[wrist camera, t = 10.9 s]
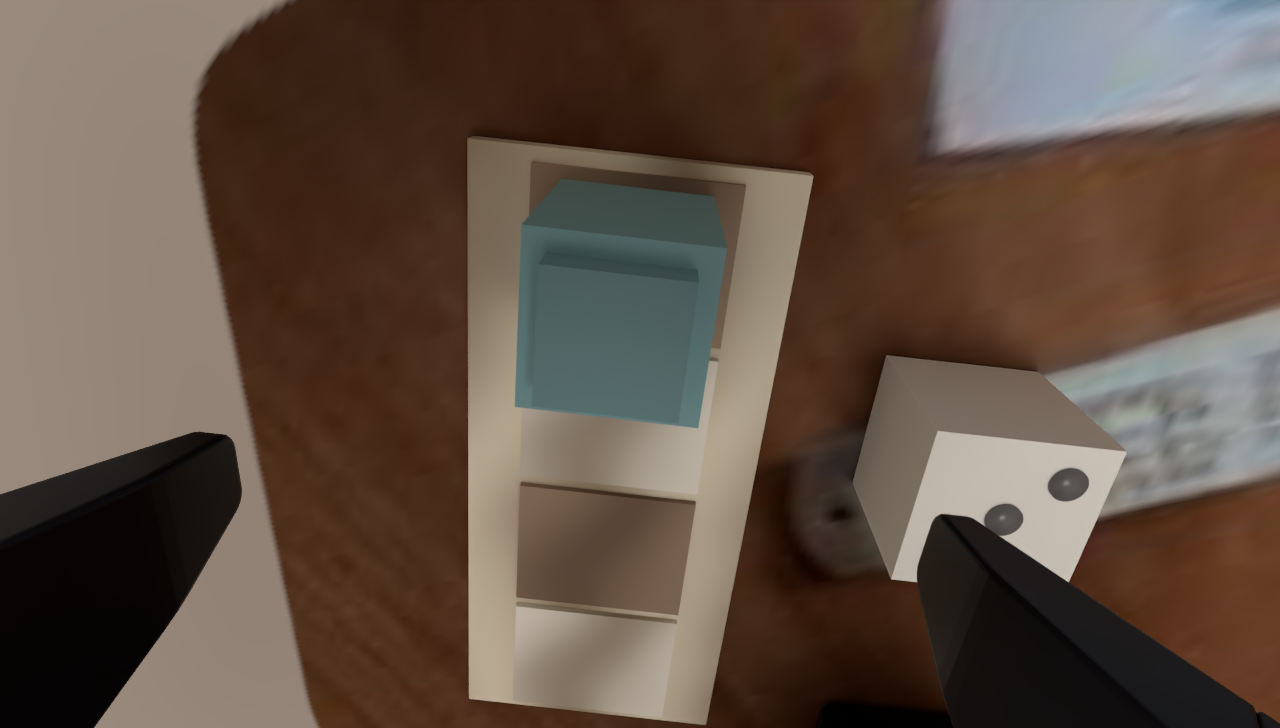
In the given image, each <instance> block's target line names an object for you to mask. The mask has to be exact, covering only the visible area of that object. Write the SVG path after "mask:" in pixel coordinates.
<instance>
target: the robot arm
mask: <svg viewBox="0 0 1280 728" xmlns="http://www.w3.org/2000/svg"><path fill="white" fill-rule="evenodd" d="M241 495H242V488H241V481H240V475H239V468H238V462H237V457H236V450H235V446H234V443H233V441H232V439H231V438H229V437H228V436H227V435H223V434H213V433H204V432H193V433H190V434H186V435H183V436H181V437H177V438H174V439H171V440H168V441H165V442H161V443H158V444H155V445H152V446H149V447H146V448H143V449H140V450H137V451H134V452H131V453H127V454H124V455H121V456H118V457H115V458H112V459H109V460H106V461H103V462H99V463H96V464H94V465H90V466H87V467H84V468H81V469H78V470H75V471H72V472H69V473H66V474H62V475H59V476H56V477H53V478H50V479H47V480H44V481H41V482H37V483H35V484H31V485H28V486H25V487H22V488H19V489H16V490H13V491H9V492H6V493H3V494H0V728H94V727H95V726H96V724H97V723H98V721H99V720H100V719H101V717H102V716H103V715H104V713H105V712H106V710H107V709H108V707H109V706H110V705H111V703H112V702H113V701H114V699H115V698H116V697H117V695H118V694H119V692H120V691H121V690H122V688H123V687H124V686H125V684H126V683H127V681H128V680H129V678H130V677H131V676H132V675H133V673H134V672H135V670H136V669H137V668H138V666H139V665H140V663H141V662H142V661H143V659H144V658H145V657H146V655H147V654H148V652H149V651H150V650H151V648H152V647H153V645H154V644H155V643H156V641H157V640H158V638H159V637H160V636H161V634H162V633H163V632H164V630H165V629H166V627H167V626H168V625H169V623H170V622H171V620H172V619H173V617H174V616H175V614H176V613H177V611H178V610H179V608H180V607H181V605H182V604H183V602H184V600H185V599H186V597H187V596H188V594H189V592H190V591H191V589H192V587H193V585H194V584H195V582H196V580H197V578H198V576H199V575H200V573H201V572H202V570H203V568H204V566H205V565H206V563H207V561H208V559H209V558H210V556H211V554H212V552H213V551H214V549H215V547H216V546H217V544H218V542H219V540H220V539H221V537H222V535H223V533H224V532H225V530H226V528H227V526H228V525H229V523H230V521H231V520H232V518H233V516H234V514H235V513H236V511H237V509H238V507H239V504H240V500H241ZM917 584H918V589H919V593H920V598H921V602H922V607H923V611H924V616H925V620H926V625H927V629H928V634H929V638H930V643H931V647H932V652H933V656H934V661H935V665H936V670H937V674H938V678H939V682H940V686H941V690H942V694H943V697H944V701H945V704H946V707H947V710H948V713H949V715H942V714H933V713H924V712H915V711H906V710H897V709H888V708H879V707H870V706H861V705H852V704H843V703H830V704H827V705H826V706H824V707H823V708H822V710H821V713H820V716H819V719H818V723H817V726H816V728H1280V723H1278V722H1277V721H1275V720H1274V719H1272V718H1271V717H1269V716H1268V715H1266V714H1265V713H1263V712H1255V708H1254V707H1253V706H1252V705H1251V704H1249V703H1248V702H1246V701H1245V700H1244V699H1242V698H1241V697H1239V696H1238V695H1236V694H1235V693H1233V692H1232V691H1230V690H1229V689H1227V688H1226V687H1224V686H1223V685H1221V684H1220V683H1218V682H1217V681H1215V680H1214V679H1212V678H1211V677H1209V676H1208V675H1206V674H1205V673H1203V672H1202V671H1200V670H1199V669H1197V668H1196V667H1194V666H1193V665H1191V664H1190V663H1188V662H1187V661H1185V660H1184V659H1182V658H1181V657H1179V656H1178V655H1176V654H1175V653H1173V652H1172V651H1170V650H1169V649H1167V648H1166V647H1164V646H1163V645H1161V644H1160V643H1158V642H1157V641H1155V640H1154V639H1152V638H1151V637H1149V636H1148V635H1146V634H1145V633H1143V632H1142V631H1140V630H1139V629H1137V628H1136V627H1134V626H1133V625H1132V624H1130V623H1129V622H1127V621H1126V620H1124V619H1123V618H1121V617H1120V616H1118V615H1117V614H1115V613H1114V612H1112V611H1111V610H1109V609H1108V608H1106V607H1105V606H1103V605H1102V604H1100V603H1099V602H1097V601H1096V600H1094V599H1093V598H1091V597H1090V596H1088V595H1087V594H1085V593H1084V592H1082V591H1081V590H1079V589H1078V588H1076V587H1075V586H1073V585H1072V584H1070V583H1069V582H1067V581H1066V580H1064V579H1063V578H1061V577H1060V576H1058V575H1057V574H1055V573H1054V572H1052V571H1051V570H1049V569H1048V568H1046V567H1045V566H1044V565H1042V564H1041V563H1039V562H1038V561H1036V560H1035V559H1033V558H1032V557H1030V556H1029V555H1027V554H1026V553H1024V552H1023V551H1021V550H1020V549H1018V548H1017V547H1015V546H1014V545H1012V544H1011V543H1009V542H1008V541H1006V540H1005V539H1003V538H1002V537H1000V536H999V535H997V534H996V533H994V532H993V531H991V530H990V529H988V528H987V527H985V526H984V525H982V524H981V523H979V522H978V521H976V520H975V519H973V518H971V517H968V516H959V515H950V514H940V515H938V516H936V517H935V518H934V520H933V521H932V524H931V526H930V529H929V532H928V535H927V538H926V541H925V544H924V547H923V550H922V553H921V556H920V559H919V563H918V567H917Z"/></svg>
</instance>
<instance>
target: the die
mask: <svg viewBox="0 0 1280 728" xmlns="http://www.w3.org/2000/svg"><path fill="white" fill-rule="evenodd" d="M1126 453H1127V451H1126V450H1125V449H1124V448H1122V447H1121V446H1120V445H1119V444H1118V443H1117V442H1116V441H1115V440H1114V439H1112V438H1111V437H1110V436H1109V435H1108V434H1107V433H1106V432H1105V431H1104V430H1102V429H1101V428H1100V427H1099V426H1098V425H1097V424H1096V423H1095V422H1094V421H1092V420H1091V419H1090V418H1089V417H1088V416H1087V415H1086V414H1085V413H1084V412H1082V411H1081V410H1080V409H1079V408H1078V407H1077V406H1076V405H1075V404H1074V403H1072V402H1071V401H1070V400H1069V399H1068V398H1067V397H1066V396H1065V395H1064V394H1062V393H1061V392H1060V391H1059V390H1058V389H1057V388H1056V387H1055V386H1054V385H1052V384H1051V383H1050V382H1049V381H1048V380H1047V379H1046V378H1045V377H1044V376H1042V375H1041V374H1040V373H1039V372H1035V371H1026V370H1017V369H1008V368H999V367H989V366H980V365H971V364H962V363H953V362H944V361H935V360H926V359H916V358H907V357H898V356H889V355H886V358H885V362H884V366H883V369H882V373H881V377H880V381H879V384H878V388H877V392H876V396H875V399H874V403H873V407H872V411H871V415H870V418H869V422H868V426H867V430H866V433H865V437H864V441H863V445H862V448H861V452H860V456H859V460H858V464H857V467H856V471H855V475H854V479H853V482H852V483H853V486H854V488H855V491H856V493H857V496H858V498H859V501H860V503H861V506H862V508H863V511H864V513H865V516H866V518H867V521H868V523H869V526H870V528H871V531H872V533H873V535H874V538H875V540H876V543H877V545H878V548H879V550H880V553H881V555H882V558H883V560H884V563H885V565H886V568H887V570H888V573H889V575H890V578H891V579H893V580H902V581H911V582H917V567H918V563H919V559H920V556H921V553H922V550H923V547H924V544H925V541H926V538H927V535H928V532H929V529H930V526H931V524H932V521H933V520H934V518H935V517H936V516H938V515H940V514H950V515H959V516H968V517H971V518H973V519H975V520H976V521H978V522H979V523H981V524H982V525H984V526H985V527H987V528H988V529H990V530H991V531H993V532H994V533H996V534H997V535H999V536H1000V537H1002V538H1003V539H1005V540H1006V541H1008V542H1009V543H1011V544H1012V545H1014V546H1015V547H1017V548H1018V549H1020V550H1021V551H1023V552H1024V553H1026V554H1027V555H1029V556H1030V557H1032V558H1033V559H1035V560H1036V561H1038V562H1039V563H1041V564H1042V565H1044V566H1045V567H1046V568H1048V569H1049V570H1051V571H1052V572H1054V573H1055V574H1057V575H1058V576H1060V577H1061V578H1063V579H1064V580H1066V581H1067V582H1069V581H1070V578H1071V576H1072V574H1073V572H1074V569H1075V567H1076V565H1077V563H1078V560H1079V558H1080V556H1081V554H1082V552H1083V549H1084V547H1085V545H1086V543H1087V540H1088V538H1089V536H1090V534H1091V531H1092V529H1093V527H1094V525H1095V522H1096V520H1097V518H1098V516H1099V514H1100V511H1101V509H1102V507H1103V505H1104V502H1105V500H1106V498H1107V496H1108V493H1109V491H1110V489H1111V487H1112V485H1113V482H1114V480H1115V478H1116V476H1117V473H1118V471H1119V469H1120V467H1121V464H1122V462H1123V460H1124V458H1125V455H1126Z"/></svg>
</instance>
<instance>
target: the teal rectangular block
mask: <svg viewBox="0 0 1280 728" xmlns="http://www.w3.org/2000/svg"><path fill="white" fill-rule="evenodd" d="M726 253H727V246H726V242H725V238H724V234H723V230H722V226H721V222H720V217H719V213H718V209H717V205H716V201H715V197H714V196H706V195H697V194H688V193H680V192H671V191H663V190H654V189H646V188H637V187H628V186H620V185H611V184H603V183H594V182H586V181H577V180H568V179H561V180H560V181H559V182H558V183H557V184H556V186H555V187H554V188H553V189H552V190H551V191H550V192H549V194H548V195H547V196H546V197H545V198H544V199H543V200H542V202H541V203H540V204H539V205H538V206H537V207H536V208H535V209H534V211H533V212H532V213H531V214H530V215H529V216H528V217H527V219H526V220H525V221H524V222H523V223H522V224H521V247H520V274H519V301H518V328H517V355H516V383H515V407H520V408H528V409H537V410H546V411H554V412H563V413H571V414H580V415H588V416H597V417H606V418H614V419H623V420H631V421H640V422H648V423H657V424H665V425H674V426H683V427H691V428H698V427H699V421H700V414H701V408H702V402H703V396H704V390H705V383H706V377H707V371H708V365H709V359H710V352H711V346H712V340H713V334H714V327H715V321H716V315H717V309H718V303H719V296H720V290H721V284H722V278H723V272H724V265H725V259H726Z"/></svg>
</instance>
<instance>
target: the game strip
mask: <svg viewBox="0 0 1280 728" xmlns="http://www.w3.org/2000/svg"><path fill="white" fill-rule="evenodd" d="M467 168H468V529H469V699H476V700H485V701H494V702H503V703H512V704H521V705H530V706H539V707H548V708H557V709H566V710H575V711H584V712H593V713H602V714H611V715H620V716H629V717H638V718H647V719H656V720H665V721H674V722H683V723H692V724H701V725H706V722H707V717H708V711H709V706H710V701H711V696H712V691H713V686H714V681H715V676H716V671H717V666H718V661H719V655H720V650H721V645H722V640H723V635H724V630H725V625H726V620H727V615H728V610H729V605H730V599H731V594H732V589H733V584H734V579H735V574H736V569H737V564H738V559H739V554H740V549H741V543H742V538H743V533H744V528H745V523H746V518H747V513H748V508H749V503H750V498H751V493H752V487H753V482H754V477H755V472H756V467H757V462H758V457H759V452H760V447H761V442H762V436H763V431H764V426H765V421H766V416H767V411H768V406H769V401H770V396H771V391H772V386H773V380H774V375H775V370H776V365H777V360H778V355H779V350H780V345H781V340H782V335H783V330H784V324H785V319H786V314H787V309H788V304H789V299H790V294H791V289H792V284H793V279H794V274H795V268H796V263H797V258H798V253H799V248H800V243H801V238H802V233H803V228H804V223H805V218H806V212H807V207H808V202H809V197H810V192H811V187H812V182H813V177H814V176H813V175H812V174H811V173H810V172H802V171H793V170H784V169H775V168H765V167H756V166H747V165H738V164H729V163H719V162H710V161H701V160H692V159H683V158H673V157H664V156H655V155H646V154H637V153H627V152H618V151H609V150H600V149H591V148H581V147H572V146H563V145H554V144H545V143H535V142H526V141H517V140H508V139H499V138H489V137H480V136H472V137H470V138H467ZM561 179H568V180H577V181H586V182H594V183H603V184H611V185H620V186H628V187H637V188H646V189H654V190H663V191H671V192H680V193H688V194H697V195H706V196H714V197H715V201H716V205H717V209H718V213H719V217H720V222H721V226H722V230H723V234H724V238H725V242H726V246H727V253H726V259H725V265H724V272H723V278H722V284H721V290H720V296H719V303H718V309H717V315H716V321H715V327H714V334H713V340H712V346H711V352H710V359H709V365H708V371H707V377H706V383H705V390H704V396H703V402H702V408H701V414H700V421H699V427H698V428H691V427H683V426H674V425H665V424H657V423H648V422H640V421H631V420H623V419H614V418H606V417H597V416H588V415H580V414H571V413H563V412H554V411H546V410H537V409H528V408H520V407H515V383H516V355H517V328H518V301H519V274H520V247H521V224H522V223H523V222H524V221H525V220H526V219H527V217H528V216H529V215H530V214H531V213H532V212H533V211H534V209H535V208H536V207H537V206H538V205H539V204H540V203H541V202H542V200H543V199H544V198H545V197H546V196H547V195H548V194H549V192H550V191H551V190H552V189H553V188H554V187H555V186H556V184H557V183H558V182H559V181H560V180H561Z"/></svg>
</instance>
